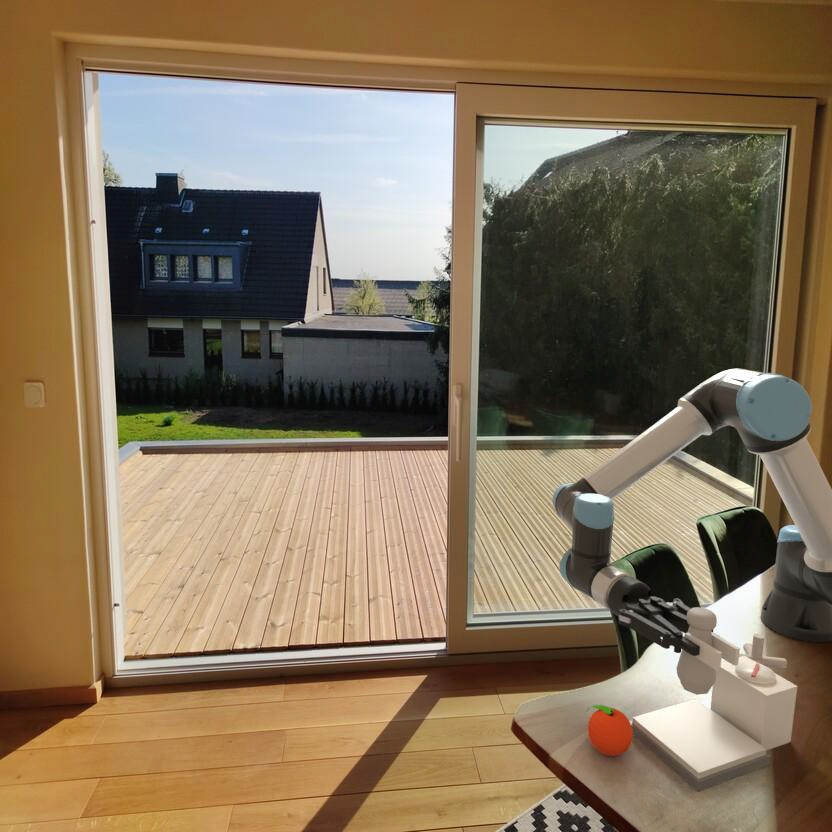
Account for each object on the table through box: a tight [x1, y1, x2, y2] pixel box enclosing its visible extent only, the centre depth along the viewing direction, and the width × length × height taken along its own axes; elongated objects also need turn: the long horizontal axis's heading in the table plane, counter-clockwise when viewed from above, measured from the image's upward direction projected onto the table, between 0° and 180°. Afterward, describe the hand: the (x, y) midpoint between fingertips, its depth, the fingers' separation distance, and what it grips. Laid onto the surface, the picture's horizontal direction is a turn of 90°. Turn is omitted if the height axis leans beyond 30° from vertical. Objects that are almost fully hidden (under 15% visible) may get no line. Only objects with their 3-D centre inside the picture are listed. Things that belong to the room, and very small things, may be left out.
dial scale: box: [629, 656, 798, 792], centre depth 104 cm, size 23×15×11 cm, turn 113°
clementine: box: [585, 704, 634, 757], centre depth 102 cm, size 8×7×7 cm
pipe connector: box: [739, 633, 788, 670], centre depth 120 cm, size 10×10×10 cm
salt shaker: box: [676, 607, 718, 695], centre depth 101 cm, size 6×6×13 cm
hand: (728, 659), depth 96 cm, fingers closed on salt shaker, 3 cm apart
